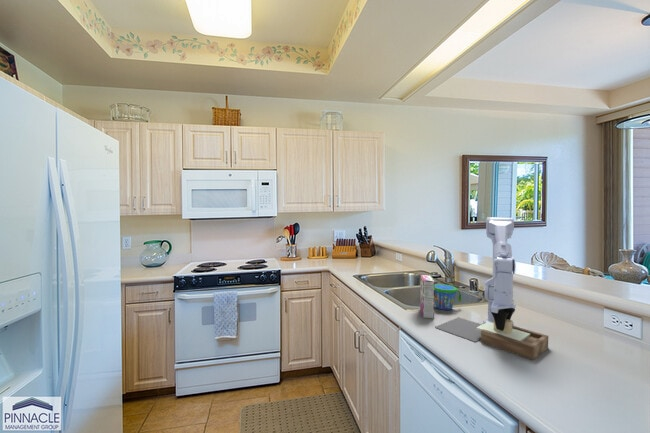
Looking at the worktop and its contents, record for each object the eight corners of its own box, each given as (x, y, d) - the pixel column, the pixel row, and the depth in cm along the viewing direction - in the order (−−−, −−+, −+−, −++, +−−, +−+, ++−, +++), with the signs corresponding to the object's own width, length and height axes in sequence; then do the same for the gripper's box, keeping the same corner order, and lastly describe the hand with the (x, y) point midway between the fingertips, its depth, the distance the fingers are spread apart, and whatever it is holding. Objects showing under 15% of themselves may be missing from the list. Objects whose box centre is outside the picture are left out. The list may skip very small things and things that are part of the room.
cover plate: (488, 323, 116) (489, 311, 116) (530, 335, 105) (530, 322, 105) (476, 329, 110) (476, 316, 110) (519, 343, 99) (519, 329, 99)
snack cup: (458, 305, 147) (458, 284, 147) (464, 312, 137) (465, 290, 136) (424, 303, 150) (425, 283, 149) (428, 310, 139) (429, 288, 139)
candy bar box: (419, 309, 141) (420, 274, 140) (430, 310, 140) (431, 275, 139) (422, 318, 130) (423, 280, 129) (434, 319, 129) (435, 281, 128)
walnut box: (498, 332, 115) (498, 321, 115) (548, 347, 103) (548, 335, 103) (480, 341, 107) (481, 330, 107) (532, 360, 94) (533, 347, 94)
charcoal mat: (458, 317, 130) (458, 317, 130) (497, 330, 117) (497, 329, 117) (434, 327, 119) (434, 326, 119) (475, 342, 106) (475, 341, 106)
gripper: (506, 297, 100) (505, 337, 100) (523, 290, 109) (522, 327, 109) (484, 292, 105) (483, 330, 106) (502, 286, 114) (501, 321, 115)
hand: (502, 328), depth 108 cm, fingers closed on cover plate, 3 cm apart
